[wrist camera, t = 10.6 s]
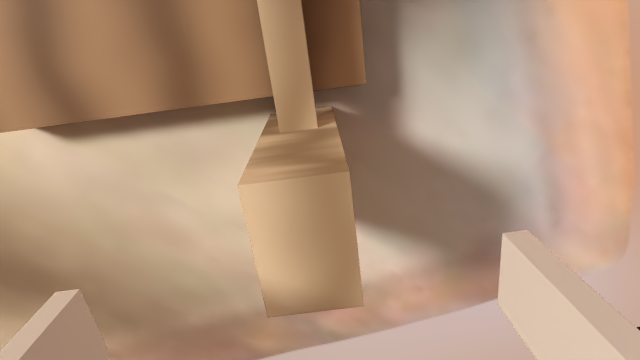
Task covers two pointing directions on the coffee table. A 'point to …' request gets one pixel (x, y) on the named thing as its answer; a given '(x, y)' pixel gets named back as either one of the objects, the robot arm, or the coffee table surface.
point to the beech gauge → (299, 184)
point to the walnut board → (154, 56)
